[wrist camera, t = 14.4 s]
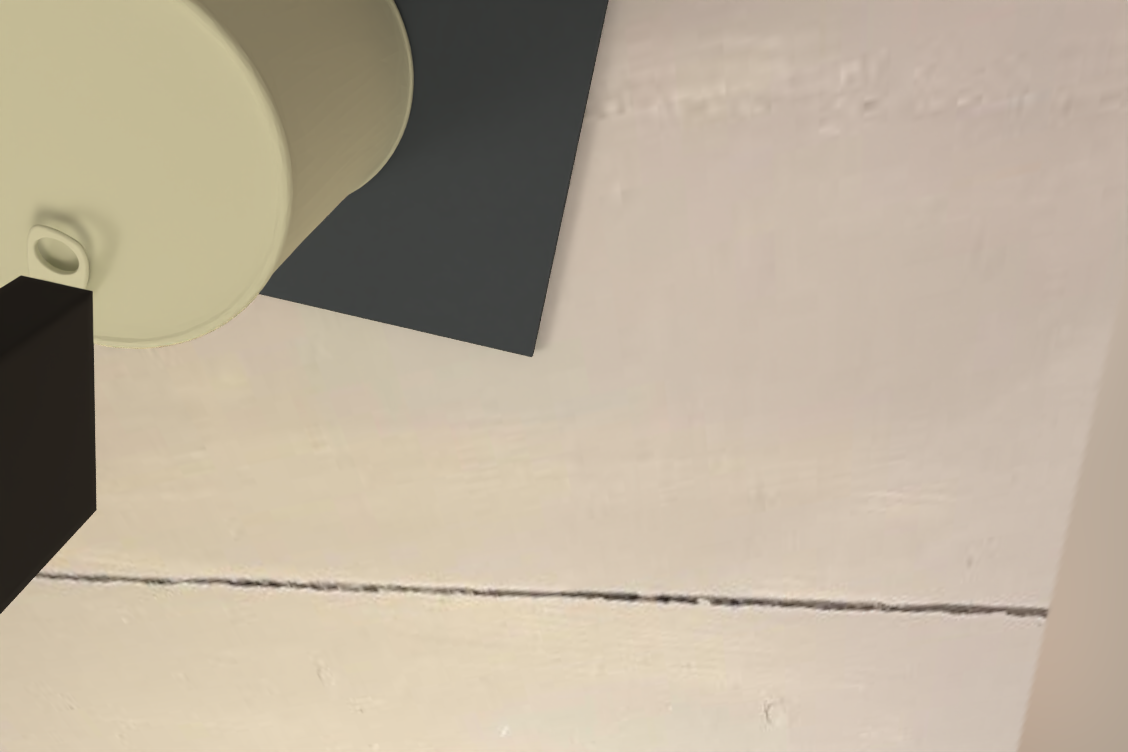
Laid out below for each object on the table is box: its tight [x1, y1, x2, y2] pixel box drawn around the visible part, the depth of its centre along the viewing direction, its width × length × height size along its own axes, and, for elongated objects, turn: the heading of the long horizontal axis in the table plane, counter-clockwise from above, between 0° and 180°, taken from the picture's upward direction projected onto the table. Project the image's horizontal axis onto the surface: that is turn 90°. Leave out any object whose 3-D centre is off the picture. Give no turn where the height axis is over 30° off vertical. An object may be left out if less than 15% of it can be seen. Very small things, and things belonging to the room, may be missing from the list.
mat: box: [259, 0, 608, 357], centre depth 34 cm, size 20×16×1 cm
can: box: [0, 0, 414, 349], centre depth 29 cm, size 9×9×12 cm
